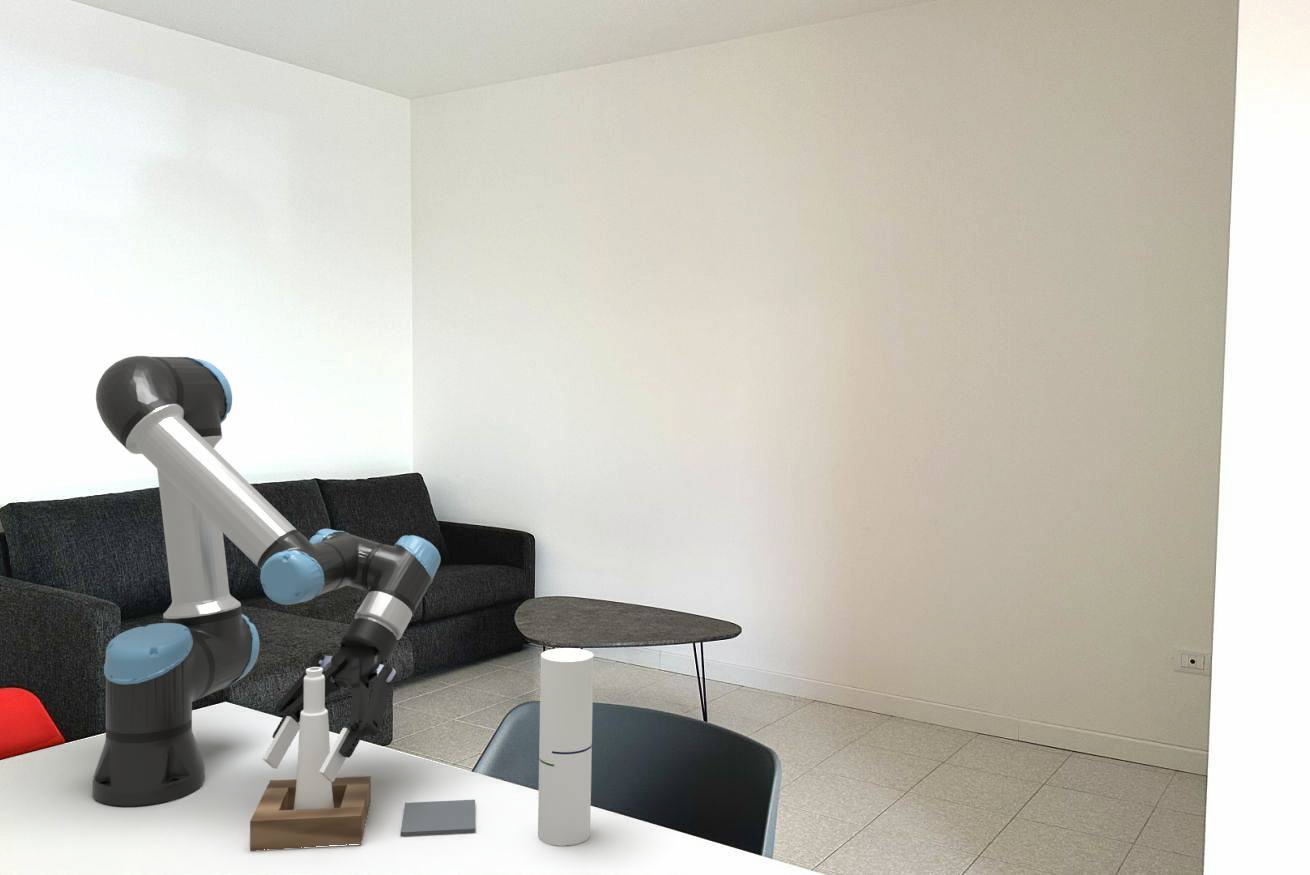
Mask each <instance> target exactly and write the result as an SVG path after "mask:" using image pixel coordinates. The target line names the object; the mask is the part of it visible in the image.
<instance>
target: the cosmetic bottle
mask: <svg viewBox="0 0 1310 875" xmlns="http://www.w3.org/2000/svg"><path fill="white" fill-rule="evenodd" d="M305 671H306V673H307V675H306V676H305V677H304V710H302V711H301V713H300V721H299V724H300V727H299V731H298V749H297V750H298V751H297V766H296V768H297V769H296V779H297V782H296V794H295V803H294V810H301V809H323V808H334V803H333V794H332V783H331V781H328V780H327V779H326V778H325V777H324V776H323V775H322V774H321V773H320V772H319V771H320V769H321V767H322V765H323V763H324V762H325V760H326V758H327V756H328V754H329V753H330V751H331V746H330V745H331V744H330V743H331V742H330V726H329V724H330V723H329V711H328V709H327V708H326V706H325V705H326V704H325V703H326V702H325V701H326V698H325V676H324V675H323V674H322V672H323V668H321V667H311V668H308V667H307V668H306V669H305Z"/></svg>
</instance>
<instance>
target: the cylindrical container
mask: <svg viewBox="0 0 1310 875" xmlns="http://www.w3.org/2000/svg"><path fill="white" fill-rule="evenodd" d="M539 678H540V680H539V681H540V682H539V683H540V684H539V685H540V688H539V692H540V693H539V696H540V697H539V743H538V744H539V746H538V747H539V749H538V750H539V751H538V752H539V753H538V756H539V757H538V804H537V806H538V808H537V809H538V810H537V812H538V815H537V816H538V817H537V819H538V820H537V838H538V839H539V840H540V841H541V842H543V843H545V844H547V845H550V846H556V847H557V845H558V847H567V846H566V845H571V846H574V845H575V844H576V845H579V844H582V843H584V842H586V841H587V840H588V839H589V838H590V837H589V836H591V810H592V809H591V808H592V807H591V806H592V800H591V799H592V796H591V794H592V754H593V753H592V750H593V748H592V747H593V746H592V745H593V744H592V743H593V709H594V708H593V703H594V702H593V701H594V700H593V699H594V696H593V695H594V694H593V693H594V692H593V691H594V652H592V651H590V650H587V649H582V648H576V647H575V648H574V647H562V648H561V647H560V648H552V649H548V650H545V651H543V652H541V654H540V677H539Z"/></svg>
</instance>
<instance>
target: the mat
mask: <svg viewBox="0 0 1310 875" xmlns="http://www.w3.org/2000/svg"><path fill="white" fill-rule="evenodd" d="M456 834H458V835H460V834H476V799H458V800H457V799H456V800H439V801H438V800H435V801H416V802H414V801H413V802H405V803H404V807H403V814H402V821H401V827H400V836H404V837H421V836H436V835H439V836H440V835H442V836H443V835H456ZM400 836H399V837H400Z"/></svg>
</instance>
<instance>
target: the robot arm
mask: <svg viewBox="0 0 1310 875" xmlns="http://www.w3.org/2000/svg"><path fill="white" fill-rule="evenodd" d="M95 392H96V393H95V402H96V409H97V412H98V414H99V417H100V418H101V420H102V422H103V424H104V425H105V427H106V429H107V430H108V431H109V432H110V433H111V434H112V436H113V437H114V439H115V440H117V441H118V442H119V443H120V444H121V446H123V447H124V448H125V450H127V451H128V452H129V453H131V454H134V455H143V456H144V457H145V459H147V460H148V461H149V462H150V463H151V464H152V465H153V466H154V467H155V468H156V469H157V479H158V488H159V497H160V505H161V506H160V507H161V514H162V523H163V524H162V525H163V531H164V542H165V549H166V550H165V551H166V559H167V569H168V576H169V584H170V594H171V604H170V605H169V607H168V608H167V609H166V611H165V612H163V614H162V615H163V617H162V618H163V622H161V623H159V622H158V623H151V624H150V623H149V624H147V625H146V626H136V627H133V628H131V629H128V630H125V631H123V632H121V633H120V634H118V635H116V636H115V637H114V638H112V639H111V640H110V641H109V643H108V644H107V646H106V650H105V661H104V665H103V674H104V701H105V702H104V705H105V706H104V707H105V709H104V711H105V712H104V713H105V714H104V715H105V740H104V741H105V743H104V745H103V748H102V751H101V754H100V757H99V760H98V762H97V765H96V769H95V771H94V774H93V777H92V797H93V798H94V799H95V800H96V801H97V802H99V803H102V804H107V805H111V806H119V807H135V806H148V805H153V804H154V805H155V804H160V803H164V802H168V801H172V800H176V799H179V798H181V797H184V796H186V795H188V794H191V793H192V792H196V790H198V789H200V788H201V787H202V785H203V784H204V783H205V781H206V780H205V775H206V774H205V770H206V769H205V763H204V760H203V757H202V755H201V751H200V749H199V747H198V744H197V741H196V739H195V736H194V733H193V726H192V724H193V720H192V719H193V714H192V713H193V702H196V701H197V700H200V699H203V698H204V697H206V696H208V695H211V694H213V693H216V692H218V691H221V690H225V689H227V688H229V687H231V686H233V685H234V684H235V683H237V682H238V681H239V680H241V679H243V678H244V677H246V675H247V674H249V673H250V671H251V670H252V669H253V668H254V666H255V664H256V663H257V659H258V656H259V652H260V636H259V633H258V629H257V628H256V626H255V624H254V623H252V622H251V621H250V619H249V617H248V616H246V615H244V614H243V612H242V604H241V602H240V601H239V600H237V599H236V598H235V597H234V596H232V595H231V593H230V587H229V579H228V578H229V577H228V569H227V560H226V549H225V542H224V541H225V540H224V535H225V537H227V538H228V539H229V540H230V541H231V542H232V543H233V544H234V545H235V546H236V547H237V548H238V549H239V550H240V551H241V552H242V553H243V554H244V555H245V556H246V557H247V558H248V559H249V560H250V561H251V562H252V563H254V565H255V566H256V567H257V568H258V569H259V570H260V575H259V576H260V577H259V580H260V584H261V586H262V589H263V592H264V594H265V595H266V597H267V598H269V599H270V600H271V601H272V602H275V603H277V604H280V605H282V606H283V605H285V606H288V605H295V604H300V603H305V602H309V601H311V600H313V599H315V598H316V597H319V596H322V595H323V594H326V593H329V592H333V591H335V590H338V589H340V588H343V587H347V586H348V587H352V588H357V589H360V590H362V591H366V592H367V594H366V596H365V598H364V599H363V601H362V602H361V604H360V606H359V608H357V611H356V612H355V614H354V619H352V620H351V621H350V623H349V625H348V626H347V628H346V630H345V632H343V635H342V637H341V640H340V648H339V649H337V651H336V652H335V653H334V654H333V655H325V654H324V653H323V652H322V651H319V652H317V653H315V655H314V656H313V659H312V660H311V663H310V665H309V666H308V667H307V668H311V667H321V668H323V672H322V674H323V675H324V676H325V699H326V698H327V697H329V695H331V694H332V693H337V691H339V690H340V689H343V688H344V689H347V688H350V689H351V690H352V691H351V703H350V704H351V705H350V714H349V715H350V718H349V722H348V723H346V726H347V727H348V728H347V727H342V729H341V731H340V733H339V734H338V736H337V738H336V740H335V741H334V743H333V745H332V747H331V748H330V753H329V754H328V756H327V758H326V760H325V762H324V763H323V765H322V767H321V769H320V771H319V772H320V773H321V774H322V775H323V776H324V777H325V778H326V779H327V780H328V781H331V782H334V780H335V778H337V776H338V774H339V772H340V770H341V769H342V767H343V764H345V761H346V759H347V758H348V759H350V758H351V756H353V754H354V753H355V750H356V748H357V746H358V745H359V743H360V740H361V739H362V738H364V737H365V736H368V735H370V736H373V737H374V736H376V735H377V734H379V732H380V727H381V725H382V720H383V716H384V713H385V709H386V707H387V703H388V700H389V696H390V693H391V690H392V687H393V685H394V684H395V682H396V680H397V679H398V677H399V673H398V672H397V670H395V669H394V667H393V666H392V665H391V664H390V663H388V662H389V661H390V659H391V656H392V655H393V653H394V651H395V650H396V647H397V646H398V641H399V640H400V639H401V638H402V637H403V634H404V633H405V630H406V629H407V627H408V625H409V623H410V621H411V620H412V617H413V616H414V614H415V612H416V610H417V608H418V606H419V605H420V602H421V601H422V599H423V597H424V596H425V595H426V593H427V590H428V588H429V586H431V584H432V583H433V581H434V580H433V579H434V578H435V575H436V573H437V572H438V571H437V570H438V569H439V566H440V564H441V561H442V560H441V557H442V556H441V555H440V552H439V550H438V549H437V547H436V546H435V545H433V544H432V543H431V542H430V541H428V539H425V538H423V537H420V536H418V535H413V534H412V535H408V534H407V535H403V536H401V537H400V538H399V539H398V540H397V542H395V544H394V545H390V544H383V543H380V542H376V541H375V540H370V539H367V538H363V537H360V536H357V535H353V534H350V532H349V533H348V532H346V531H344V530H336V529H335V530H334V529H330V528H322V529H320V530H317V532H316V533H315V535H313V536H312V537H310V539H308V538H307V537H306V536H305V535H304V534H302V533H301V532H300V531H299V530H298V529H297V528H296V527H295V526H293V524H291V522H290V521H289V520H287V518H286V517H285V516H284V515H282V514H281V513H280V512H279V510H278V509H276V508H275V507H274V506H273V505H272V504H271V503H270V502H269V501H268V500H267V499H266V498H265V497H264V496H263V495H262V494H261V493H260V492H259V491H258V490H257V489H256V488H255V487H254V486H252V484H251V483H250V482H248V480H247V479H246V478H244V476H242V475H241V473H239V472H238V471H237V470H236V468H234V466H232V465H231V464H230V463H229V462H228V461H227V460H226V459H225V458H224V457H223V456H222V455H221V454H220V453H219V452H218V451H217V450H216V449H215V447H216V446H217V444H218V443H219V442H220V441H221V440H222V439H223V432H222V423H223V422H225V420H226V419H227V417H228V416H227V415H228V414H229V413H230V412H231V410H232V405H233V392H232V388H231V385H230V383H229V381H228V379H227V378H226V376H225V374H224V373H223V372H222V371H221V369H219V368H218V367H216V365H214V364H212V363H211V362H209V361H206V360H203V359H201V358H200V359H199V358H193V357H189V356H148V355H134V356H128V357H125V358H122V359H121V360H117V361H116V362H115V363H113V364H112V365H111V366H109V367H108V368H106V370H105V371H104V373H103V374H102V375H101V377H100V379H99V381H98V384H97V387H96V391H95ZM306 675H307V673H306V670H305V671H304V672H303V673H302V674H301V675H300V676H299V677H298V679H297V680H296V681H295V683H294V684H293V685H292V686H291V687H290V689H289V690H288V691H287V692H286V693H285V694H284V695H283V697H282V698H281V699H280V700H279V702H277V703H276V706H275V708H276V710H277V712H279V713H281V715H282V718H281V719H280V721H279V723H278V725H277V727H276V729H275V730H274V731H273V733H272V740H271V743H269V746H268V747H267V749H266V751H265V753H264V754H263V756H262V758H261V759H262V760H263V761H264V762H265V763H266V764H268V765H269V766H270V767H271V768H272V769H278V767H279V765H280V763H281V762H282V760H283V758H284V757H285V755H286V753H287V752H288V749H289V748H290V746H291V745H292V743H293V741H294V739H295V737H296V736H297V734H298V733H299V727H300V713H301V711H302V710H304V677H305V676H306ZM331 678H332V680H333V681H332V680H331ZM374 679H375V680H374ZM372 680H374V684H373V687H372V686H371V685H372ZM371 687H372V689H371ZM371 690H372V691H371ZM369 695H370V697H369Z"/></svg>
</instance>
